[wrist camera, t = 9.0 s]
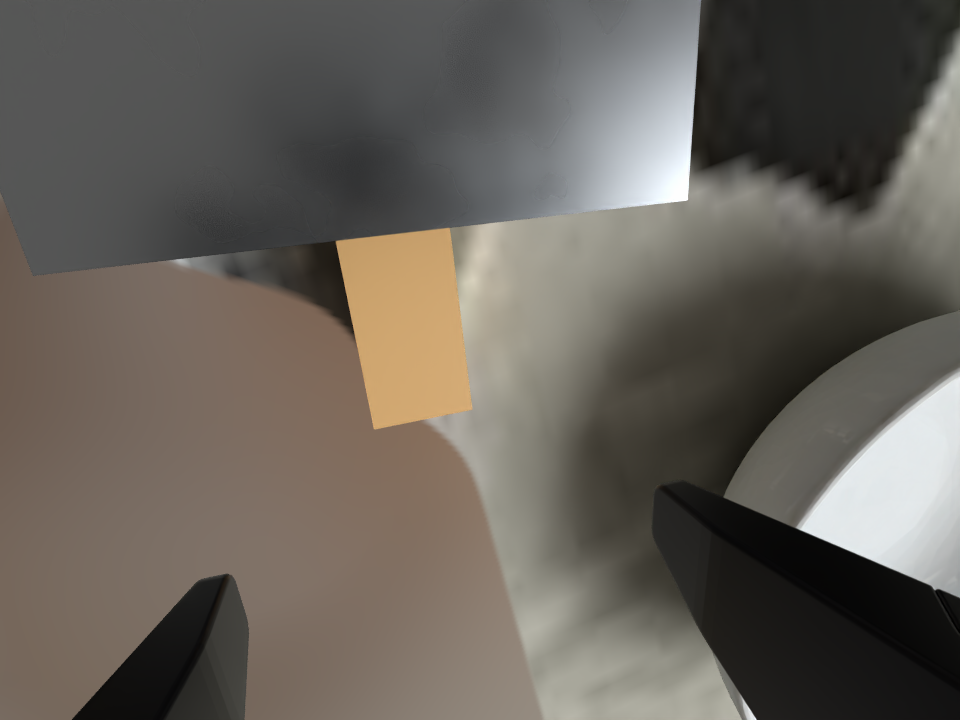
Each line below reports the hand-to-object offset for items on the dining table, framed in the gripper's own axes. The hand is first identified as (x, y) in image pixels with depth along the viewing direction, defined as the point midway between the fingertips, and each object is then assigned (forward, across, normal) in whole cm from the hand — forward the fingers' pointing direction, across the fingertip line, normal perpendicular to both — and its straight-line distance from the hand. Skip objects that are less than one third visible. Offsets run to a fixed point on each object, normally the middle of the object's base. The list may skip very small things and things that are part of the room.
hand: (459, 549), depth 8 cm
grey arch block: (+12, 0, -7) cm, 14 cm away
